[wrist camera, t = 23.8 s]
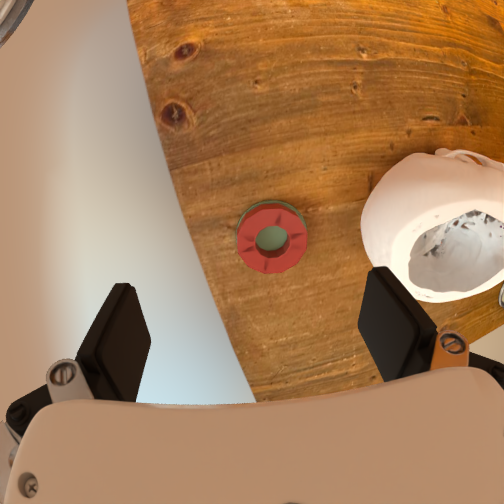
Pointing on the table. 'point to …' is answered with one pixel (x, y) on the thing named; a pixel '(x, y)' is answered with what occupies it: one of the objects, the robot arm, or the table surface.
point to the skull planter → (438, 224)
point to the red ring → (276, 258)
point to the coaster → (272, 229)
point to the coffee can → (501, 297)
